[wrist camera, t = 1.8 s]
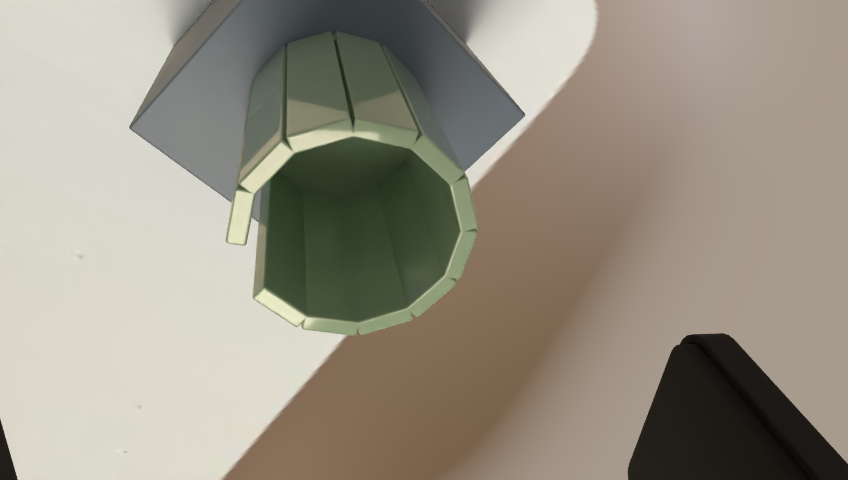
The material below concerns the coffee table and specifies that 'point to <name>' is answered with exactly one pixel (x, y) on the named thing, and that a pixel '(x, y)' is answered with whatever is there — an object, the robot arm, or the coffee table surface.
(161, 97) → the slate grey cube
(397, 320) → the cup
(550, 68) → the coffee table surface
